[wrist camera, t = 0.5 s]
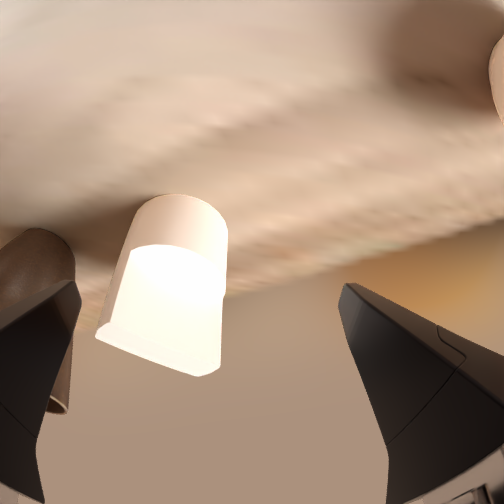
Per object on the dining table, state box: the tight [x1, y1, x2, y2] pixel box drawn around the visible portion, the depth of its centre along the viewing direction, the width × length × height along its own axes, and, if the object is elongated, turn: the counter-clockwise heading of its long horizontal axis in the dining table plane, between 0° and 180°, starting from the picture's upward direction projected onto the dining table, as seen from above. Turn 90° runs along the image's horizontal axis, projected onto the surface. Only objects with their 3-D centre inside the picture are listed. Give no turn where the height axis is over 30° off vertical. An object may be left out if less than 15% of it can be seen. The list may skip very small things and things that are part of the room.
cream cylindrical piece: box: [95, 194, 228, 377], centre depth 24 cm, size 9×9×12 cm
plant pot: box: [0, 229, 75, 415], centre depth 24 cm, size 15×15×16 cm
